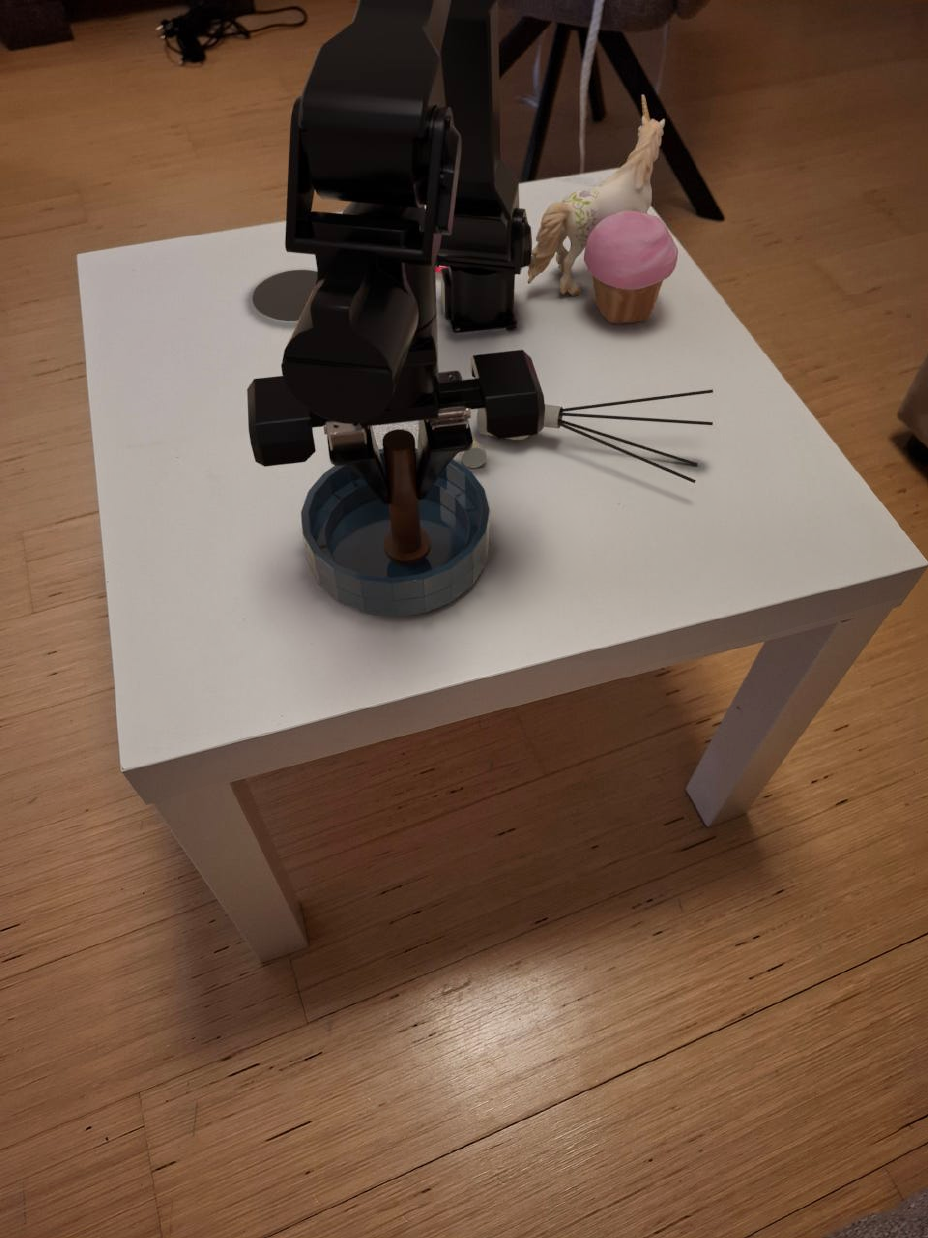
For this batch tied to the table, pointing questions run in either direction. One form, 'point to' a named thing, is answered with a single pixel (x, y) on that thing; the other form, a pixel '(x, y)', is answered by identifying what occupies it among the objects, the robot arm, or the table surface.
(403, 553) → the brown collared rod
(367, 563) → the bowl
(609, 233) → the cupcake
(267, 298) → the coaster
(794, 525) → the table surface
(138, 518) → the table surface
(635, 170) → the unicorn figurine
